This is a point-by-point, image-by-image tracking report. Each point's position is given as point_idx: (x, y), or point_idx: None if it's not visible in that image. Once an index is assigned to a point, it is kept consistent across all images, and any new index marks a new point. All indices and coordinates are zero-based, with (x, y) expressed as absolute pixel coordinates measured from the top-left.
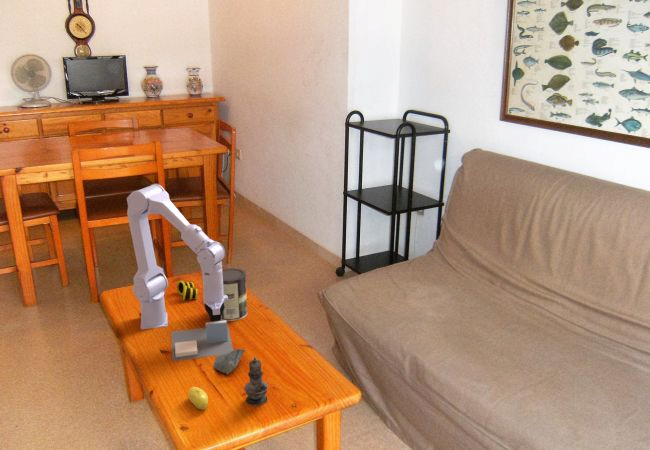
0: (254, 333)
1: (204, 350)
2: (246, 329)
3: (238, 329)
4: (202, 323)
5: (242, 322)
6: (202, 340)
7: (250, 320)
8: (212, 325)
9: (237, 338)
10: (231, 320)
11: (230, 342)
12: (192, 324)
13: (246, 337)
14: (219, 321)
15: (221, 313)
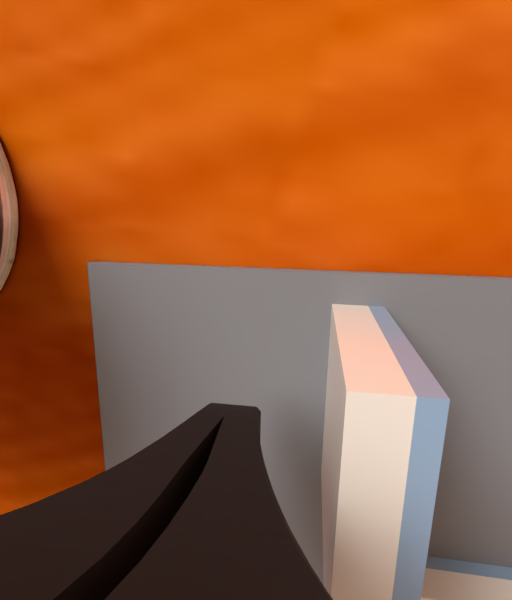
0: (285, 9)
1: (478, 513)
2: (181, 91)
3: (165, 172)
4: (18, 439)
5: (39, 115)
6: (301, 496)
7: (9, 25)
8: (413, 587)
9: (336, 205)
10: (7, 217)
11: (421, 286)
12: (25, 502)
13: (345, 111)
14: (353, 496)
15: (296, 552)
